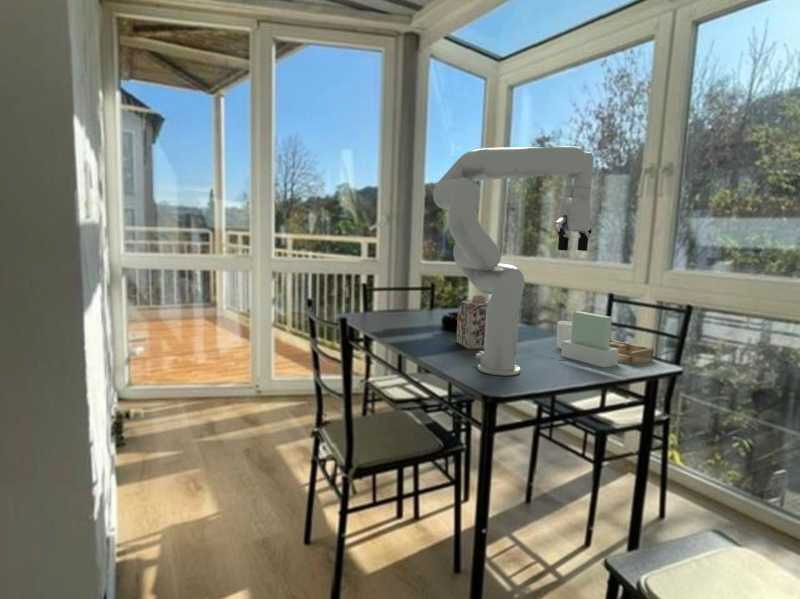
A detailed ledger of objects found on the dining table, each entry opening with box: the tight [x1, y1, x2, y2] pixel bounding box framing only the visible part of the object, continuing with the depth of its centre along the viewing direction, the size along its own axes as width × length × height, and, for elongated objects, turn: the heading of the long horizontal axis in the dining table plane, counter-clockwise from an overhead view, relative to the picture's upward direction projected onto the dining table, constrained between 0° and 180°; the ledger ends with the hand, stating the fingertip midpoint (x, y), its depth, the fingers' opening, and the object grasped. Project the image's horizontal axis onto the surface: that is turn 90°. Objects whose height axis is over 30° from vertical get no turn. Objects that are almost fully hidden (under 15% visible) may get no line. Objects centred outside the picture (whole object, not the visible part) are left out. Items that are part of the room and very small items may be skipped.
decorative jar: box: [456, 294, 489, 350], centre depth 191 cm, size 12×12×18 cm
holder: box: [560, 340, 619, 368], centre depth 172 cm, size 16×7×6 cm, turn 36°
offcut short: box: [609, 342, 626, 352], centre depth 178 cm, size 5×3×2 cm, turn 36°
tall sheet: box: [571, 310, 613, 350], centre depth 171 cm, size 12×3×15 cm, turn 36°
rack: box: [609, 339, 655, 366], centre depth 178 cm, size 18×12×5 cm, turn 36°
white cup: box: [556, 320, 573, 350], centre depth 189 cm, size 8×8×10 cm
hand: (572, 250), depth 165 cm, fingers open, 9 cm apart
